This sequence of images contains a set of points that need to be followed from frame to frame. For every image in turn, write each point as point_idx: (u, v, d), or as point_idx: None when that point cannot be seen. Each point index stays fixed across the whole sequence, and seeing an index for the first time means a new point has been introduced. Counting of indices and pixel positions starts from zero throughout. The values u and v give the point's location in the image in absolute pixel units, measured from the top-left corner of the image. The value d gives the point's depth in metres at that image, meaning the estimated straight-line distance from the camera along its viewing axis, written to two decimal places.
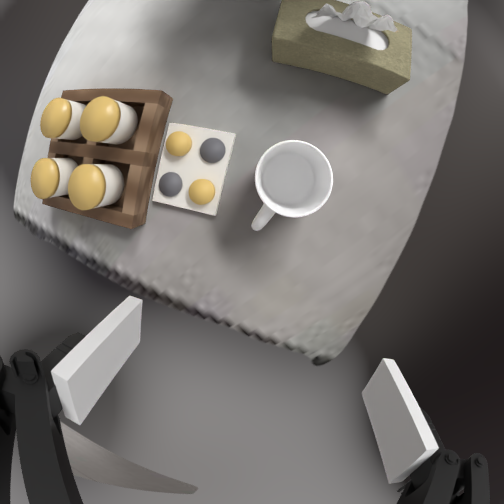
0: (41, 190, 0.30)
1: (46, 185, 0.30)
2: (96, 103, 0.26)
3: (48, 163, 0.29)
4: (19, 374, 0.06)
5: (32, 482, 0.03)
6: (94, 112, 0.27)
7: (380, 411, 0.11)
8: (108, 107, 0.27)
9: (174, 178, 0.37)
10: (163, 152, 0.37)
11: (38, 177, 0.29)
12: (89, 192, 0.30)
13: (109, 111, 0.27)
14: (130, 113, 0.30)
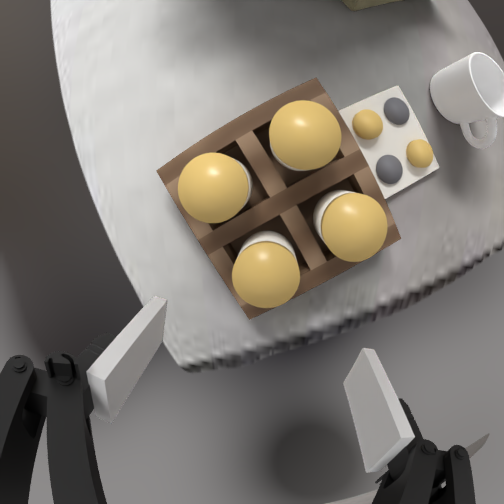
0: (278, 291, 0.24)
1: (283, 278, 0.24)
2: (284, 118, 0.20)
3: (264, 249, 0.23)
4: (53, 375, 0.06)
5: (59, 483, 0.03)
6: (293, 129, 0.21)
7: (359, 399, 0.12)
8: (311, 111, 0.20)
9: (389, 160, 0.29)
10: None
11: (256, 281, 0.24)
12: (369, 226, 0.22)
13: (318, 114, 0.20)
14: None
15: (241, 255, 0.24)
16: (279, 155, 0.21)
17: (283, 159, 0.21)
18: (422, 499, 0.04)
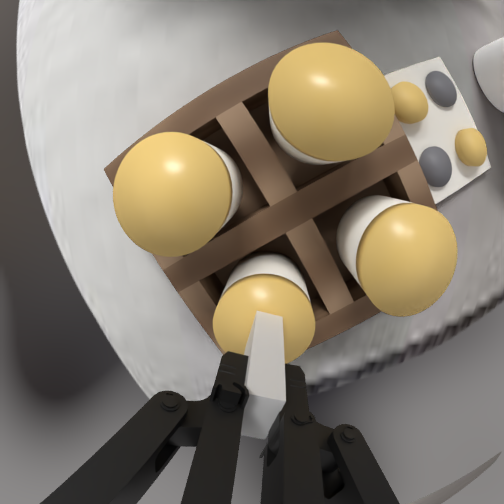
0: None
1: (290, 330, 0.15)
2: (296, 69, 0.10)
3: (261, 288, 0.15)
4: (215, 399, 0.08)
5: (192, 501, 0.04)
6: (312, 89, 0.10)
7: None
8: (342, 60, 0.10)
9: (436, 154, 0.18)
10: None
11: None
12: (433, 261, 0.12)
13: (353, 66, 0.10)
14: None
15: (226, 297, 0.15)
16: (287, 133, 0.11)
17: (295, 140, 0.11)
18: (313, 479, 0.06)
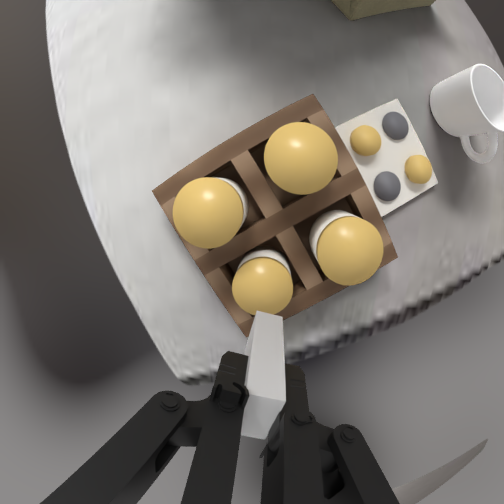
0: (273, 301, 0.27)
1: (278, 290, 0.27)
2: (280, 141, 0.21)
3: (261, 264, 0.26)
4: (215, 399, 0.08)
5: (192, 501, 0.04)
6: (289, 153, 0.21)
7: None
8: (307, 133, 0.20)
9: (387, 177, 0.29)
10: (355, 161, 0.29)
11: (253, 293, 0.27)
12: (365, 250, 0.22)
13: (314, 137, 0.20)
14: None
15: (240, 269, 0.27)
16: (274, 180, 0.21)
17: (278, 184, 0.21)
18: (313, 479, 0.06)
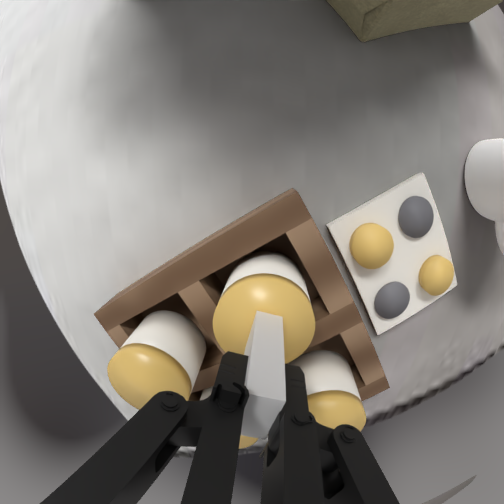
0: None
1: None
2: (233, 307, 0.15)
3: None
4: (215, 399, 0.08)
5: (192, 501, 0.04)
6: (246, 323, 0.16)
7: None
8: (273, 297, 0.15)
9: (394, 290, 0.22)
10: (353, 272, 0.22)
11: None
12: None
13: (283, 302, 0.15)
14: (289, 265, 0.18)
15: None
16: None
17: None
18: (313, 479, 0.06)
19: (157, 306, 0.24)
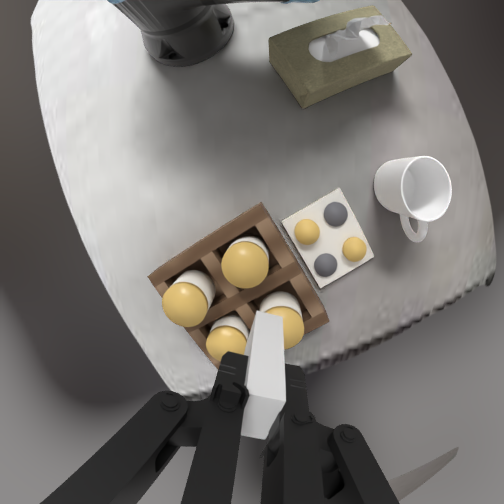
0: None
1: (236, 347, 0.38)
2: (230, 256, 0.35)
3: (223, 332, 0.38)
4: (215, 399, 0.08)
5: (192, 501, 0.04)
6: (236, 264, 0.35)
7: None
8: (248, 250, 0.34)
9: (325, 258, 0.40)
10: (298, 248, 0.40)
11: (220, 348, 0.38)
12: (290, 329, 0.34)
13: (252, 252, 0.34)
14: (258, 239, 0.38)
15: (210, 334, 0.38)
16: (228, 280, 0.36)
17: (231, 282, 0.36)
18: (313, 479, 0.06)
19: None
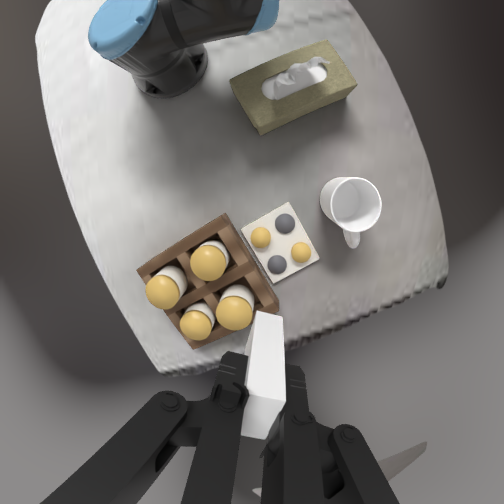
0: (201, 333, 0.49)
1: (203, 328, 0.49)
2: (197, 256, 0.45)
3: (193, 315, 0.48)
4: (215, 399, 0.08)
5: (192, 501, 0.04)
6: (201, 262, 0.45)
7: None
8: (209, 252, 0.45)
9: (276, 259, 0.51)
10: (254, 250, 0.51)
11: (190, 328, 0.49)
12: (241, 314, 0.44)
13: (213, 254, 0.45)
14: (220, 243, 0.48)
15: (183, 317, 0.48)
16: (195, 274, 0.46)
17: (197, 276, 0.46)
18: (313, 479, 0.06)
19: None
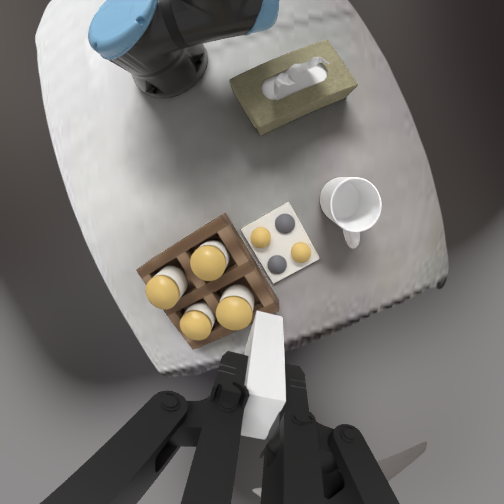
0: (201, 333, 0.49)
1: (203, 328, 0.49)
2: (197, 256, 0.45)
3: (193, 315, 0.48)
4: (215, 399, 0.08)
5: (192, 501, 0.04)
6: (201, 262, 0.45)
7: None
8: (209, 252, 0.45)
9: (276, 259, 0.51)
10: (254, 250, 0.51)
11: (190, 328, 0.49)
12: (241, 314, 0.44)
13: (213, 254, 0.45)
14: (220, 243, 0.48)
15: (183, 317, 0.48)
16: (195, 274, 0.46)
17: (197, 276, 0.46)
18: (313, 479, 0.06)
19: None
